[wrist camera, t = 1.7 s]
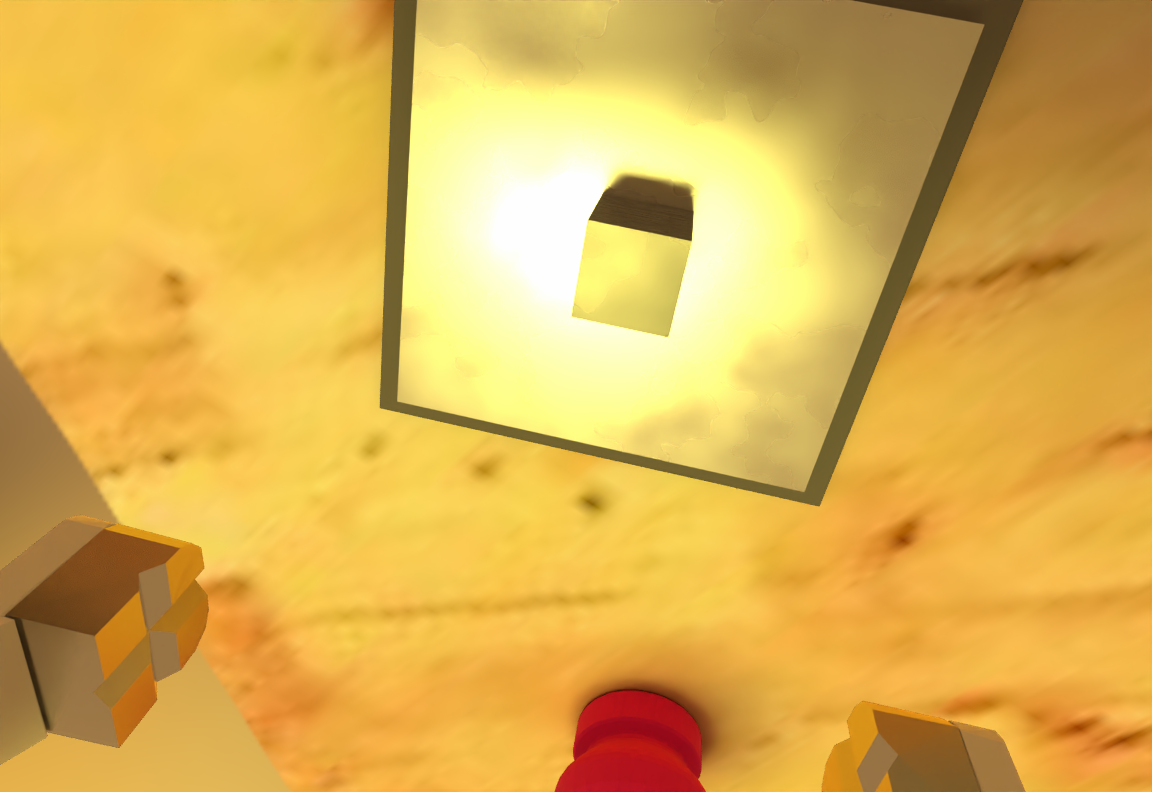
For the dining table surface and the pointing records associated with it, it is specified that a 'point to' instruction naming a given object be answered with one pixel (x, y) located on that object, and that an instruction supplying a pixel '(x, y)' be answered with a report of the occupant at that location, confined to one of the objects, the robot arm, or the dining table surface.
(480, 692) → the dining table surface
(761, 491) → the rubber mat
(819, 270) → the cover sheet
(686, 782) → the pepper mill
